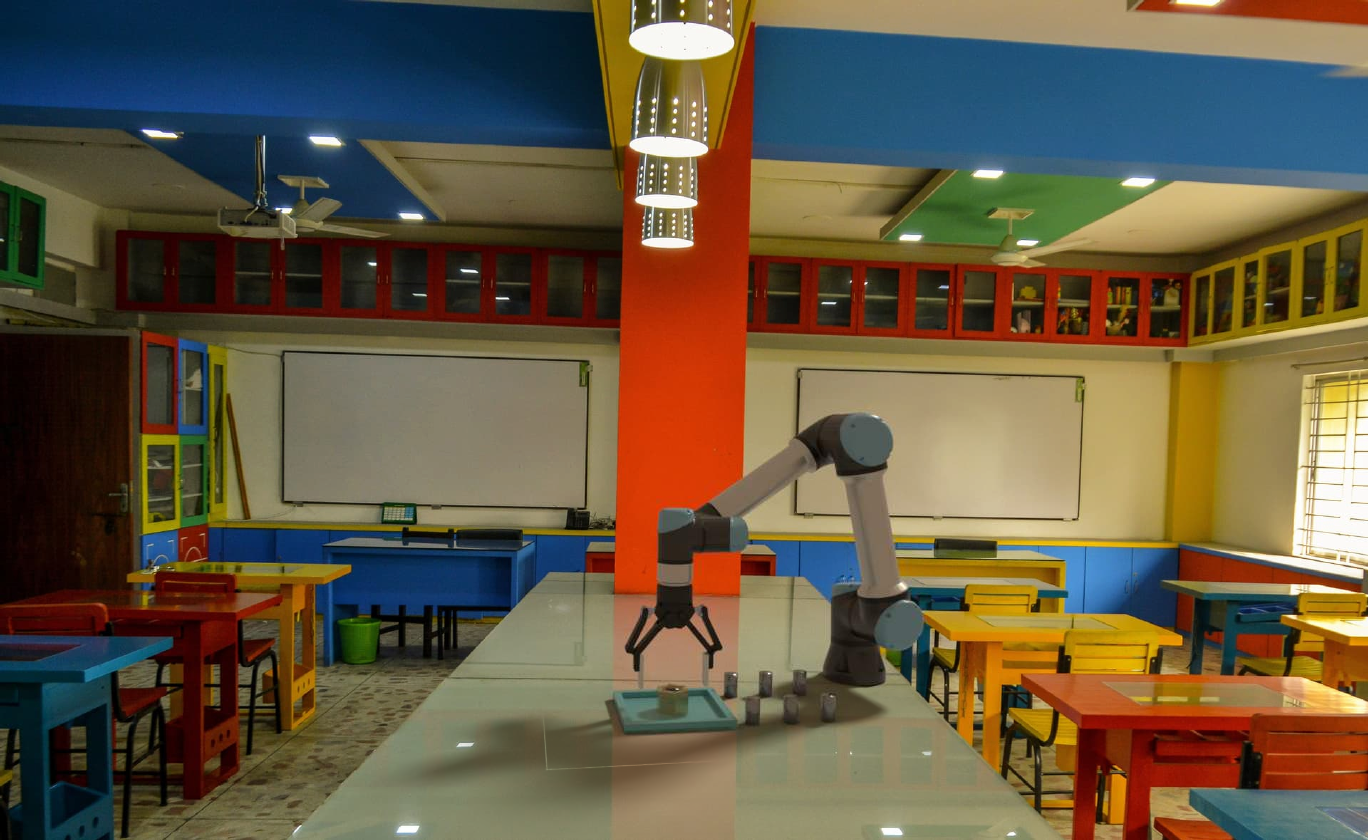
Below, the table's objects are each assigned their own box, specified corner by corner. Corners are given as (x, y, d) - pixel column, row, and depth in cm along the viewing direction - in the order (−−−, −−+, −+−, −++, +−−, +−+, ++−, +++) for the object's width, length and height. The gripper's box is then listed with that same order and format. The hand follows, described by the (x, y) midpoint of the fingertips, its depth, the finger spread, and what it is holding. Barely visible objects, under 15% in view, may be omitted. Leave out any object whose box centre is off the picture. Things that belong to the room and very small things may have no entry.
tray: (712, 695, 185) (712, 687, 185) (737, 729, 164) (737, 719, 164) (612, 698, 181) (612, 690, 181) (624, 734, 159) (625, 724, 159)
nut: (683, 704, 176) (683, 682, 177) (689, 715, 170) (690, 692, 170) (655, 705, 175) (655, 683, 175) (660, 716, 168) (661, 693, 169)
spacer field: (803, 691, 190) (804, 669, 190) (837, 721, 169) (838, 697, 169) (722, 694, 186) (722, 671, 186) (747, 725, 166) (747, 700, 166)
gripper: (728, 579, 179) (727, 678, 179) (613, 580, 175) (611, 682, 174) (737, 584, 172) (736, 688, 171) (616, 586, 167) (615, 693, 167)
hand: (673, 686), depth 173 cm, fingers open, 13 cm apart
